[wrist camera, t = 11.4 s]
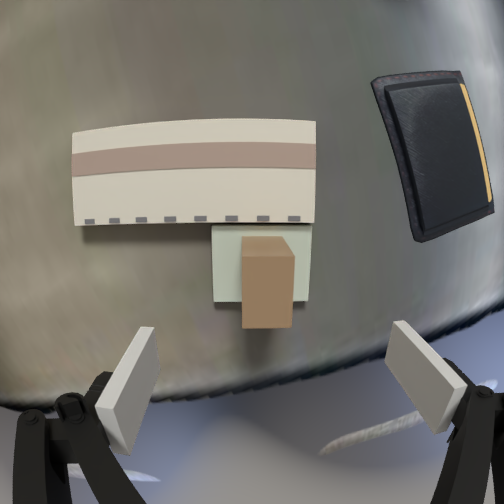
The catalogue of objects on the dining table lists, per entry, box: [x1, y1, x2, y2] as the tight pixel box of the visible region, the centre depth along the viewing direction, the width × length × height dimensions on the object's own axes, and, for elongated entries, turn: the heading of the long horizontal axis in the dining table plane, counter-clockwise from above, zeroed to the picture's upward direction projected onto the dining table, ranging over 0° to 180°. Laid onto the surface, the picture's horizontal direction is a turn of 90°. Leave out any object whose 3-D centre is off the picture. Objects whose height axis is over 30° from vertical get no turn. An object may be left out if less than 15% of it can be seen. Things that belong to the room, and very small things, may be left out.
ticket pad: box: [72, 119, 316, 226], centre depth 30 cm, size 25×10×2 cm, turn 90°
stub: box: [212, 225, 312, 328], centre depth 29 cm, size 10×8×9 cm
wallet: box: [371, 71, 494, 243], centre depth 30 cm, size 20×2×15 cm
